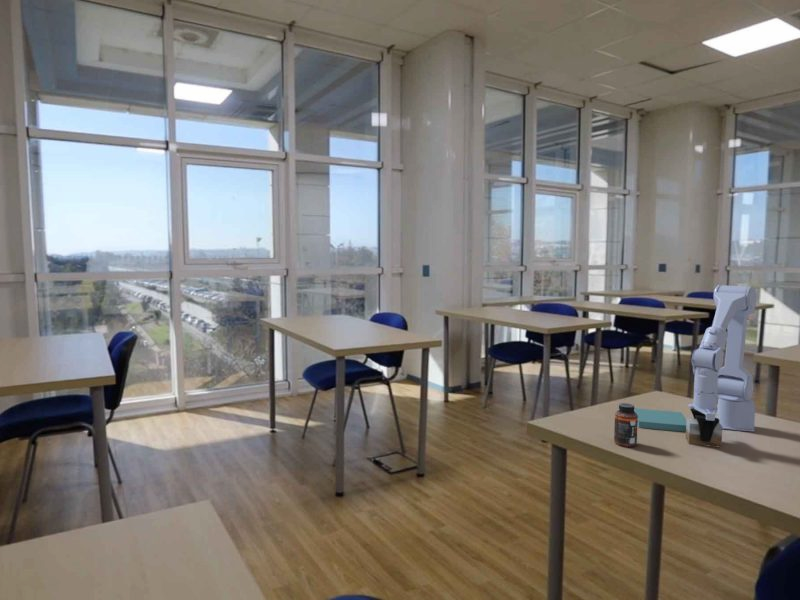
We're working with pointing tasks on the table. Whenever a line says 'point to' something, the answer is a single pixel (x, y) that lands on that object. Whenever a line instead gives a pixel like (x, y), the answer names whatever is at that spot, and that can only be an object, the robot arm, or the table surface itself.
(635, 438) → the supplement bottle
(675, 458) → the table surface
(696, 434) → the block
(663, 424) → the teal stand
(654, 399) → the table surface
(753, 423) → the robot arm
